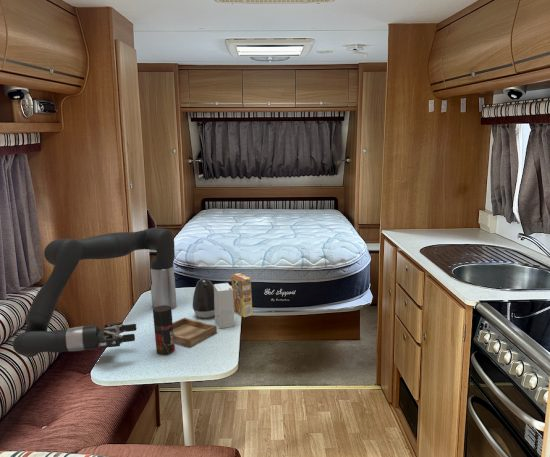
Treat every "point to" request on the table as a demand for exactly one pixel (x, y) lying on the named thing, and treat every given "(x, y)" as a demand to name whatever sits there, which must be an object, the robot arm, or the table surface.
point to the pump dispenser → (204, 299)
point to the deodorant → (163, 330)
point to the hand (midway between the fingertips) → (135, 332)
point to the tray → (191, 332)
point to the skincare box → (224, 305)
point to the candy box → (242, 294)
